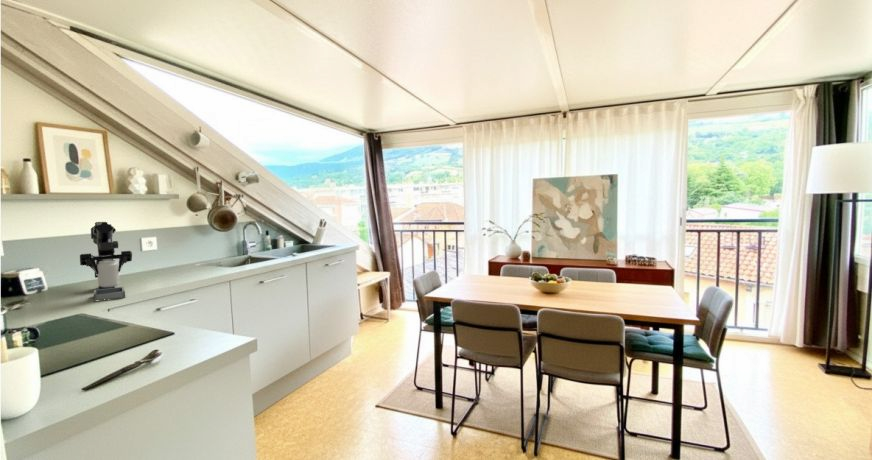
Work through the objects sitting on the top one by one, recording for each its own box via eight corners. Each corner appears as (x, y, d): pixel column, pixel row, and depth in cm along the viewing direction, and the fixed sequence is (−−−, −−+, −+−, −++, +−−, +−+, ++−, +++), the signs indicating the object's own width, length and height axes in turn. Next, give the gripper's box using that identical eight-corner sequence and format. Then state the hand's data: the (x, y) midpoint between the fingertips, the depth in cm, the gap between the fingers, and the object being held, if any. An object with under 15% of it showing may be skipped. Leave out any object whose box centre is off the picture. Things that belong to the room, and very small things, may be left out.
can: (116, 287, 178) (115, 261, 177) (96, 288, 175) (94, 262, 174) (121, 283, 185) (120, 258, 184) (101, 284, 182) (100, 259, 180)
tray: (94, 296, 181) (93, 290, 181) (124, 292, 188) (123, 286, 188) (94, 301, 173) (93, 295, 172) (125, 297, 180) (124, 291, 180)
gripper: (78, 236, 174) (80, 264, 167) (130, 234, 187) (134, 260, 180) (79, 251, 180) (81, 278, 174) (129, 248, 193) (133, 273, 187)
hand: (108, 272), depth 178 cm, fingers closed on can, 7 cm apart
